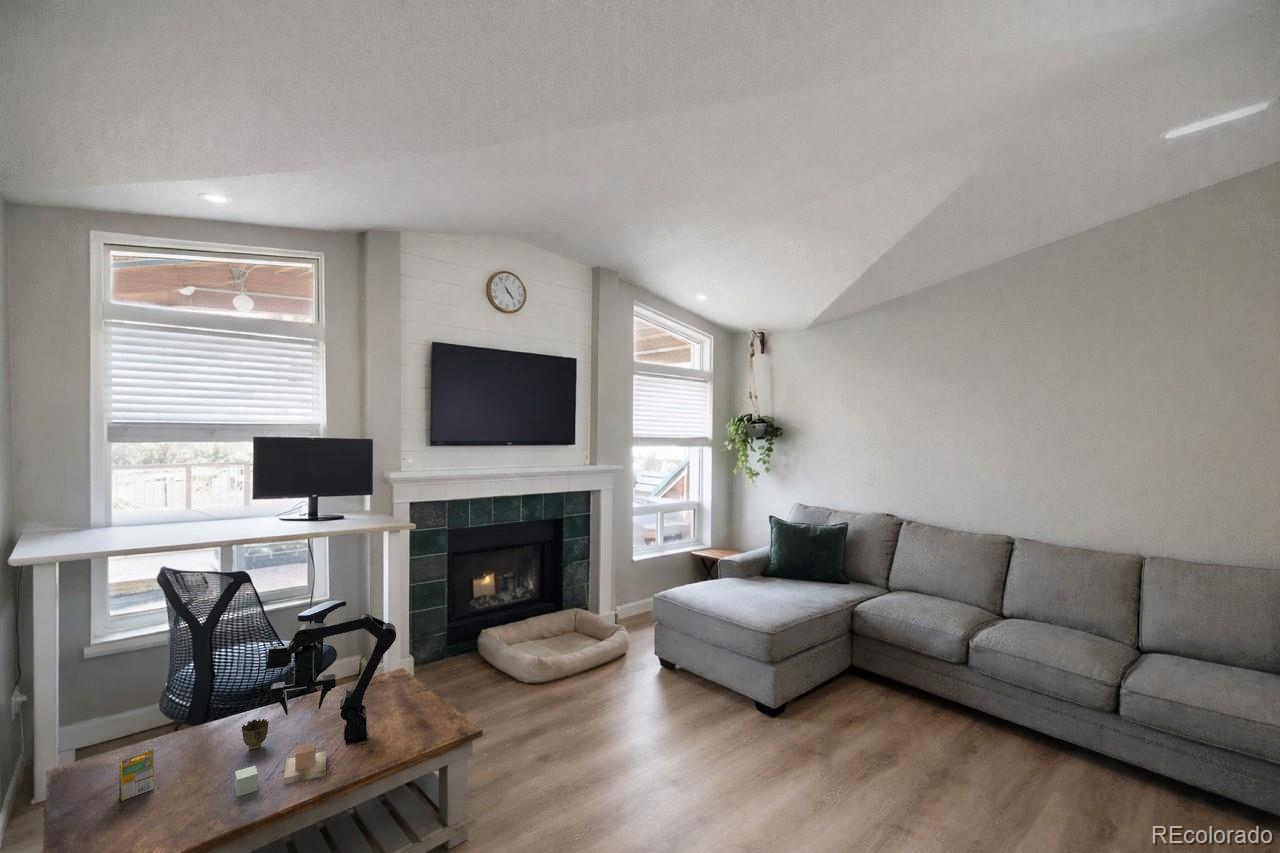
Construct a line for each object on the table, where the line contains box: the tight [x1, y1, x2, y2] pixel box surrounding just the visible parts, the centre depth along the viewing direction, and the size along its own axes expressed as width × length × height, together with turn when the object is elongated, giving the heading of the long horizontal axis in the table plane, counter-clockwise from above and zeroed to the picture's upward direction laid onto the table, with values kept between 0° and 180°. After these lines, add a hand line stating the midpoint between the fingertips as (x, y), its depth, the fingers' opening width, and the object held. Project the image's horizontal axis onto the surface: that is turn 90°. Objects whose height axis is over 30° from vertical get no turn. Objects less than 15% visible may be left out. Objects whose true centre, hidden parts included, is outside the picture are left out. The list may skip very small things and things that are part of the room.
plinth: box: [283, 750, 328, 785], centre depth 185 cm, size 11×11×2 cm
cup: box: [241, 718, 269, 751], centre depth 196 cm, size 8×7×8 cm
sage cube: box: [234, 765, 259, 797], centre depth 175 cm, size 5×5×5 cm
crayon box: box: [118, 749, 155, 802], centre depth 172 cm, size 7×3×12 cm, turn 141°
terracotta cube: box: [295, 742, 317, 770], centre depth 184 cm, size 5×5×5 cm
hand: (303, 711), depth 197 cm, fingers open, 9 cm apart
